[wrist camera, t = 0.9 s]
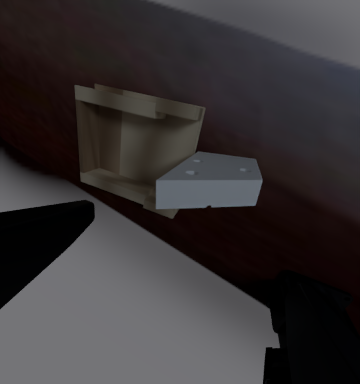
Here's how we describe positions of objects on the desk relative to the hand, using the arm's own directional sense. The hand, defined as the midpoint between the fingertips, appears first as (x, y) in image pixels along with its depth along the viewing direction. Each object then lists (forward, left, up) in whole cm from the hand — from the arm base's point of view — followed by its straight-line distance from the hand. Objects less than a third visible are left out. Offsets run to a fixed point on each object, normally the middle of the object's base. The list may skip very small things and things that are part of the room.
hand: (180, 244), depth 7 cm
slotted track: (+9, 0, -12) cm, 15 cm away
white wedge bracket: (-1, 0, -13) cm, 13 cm away
